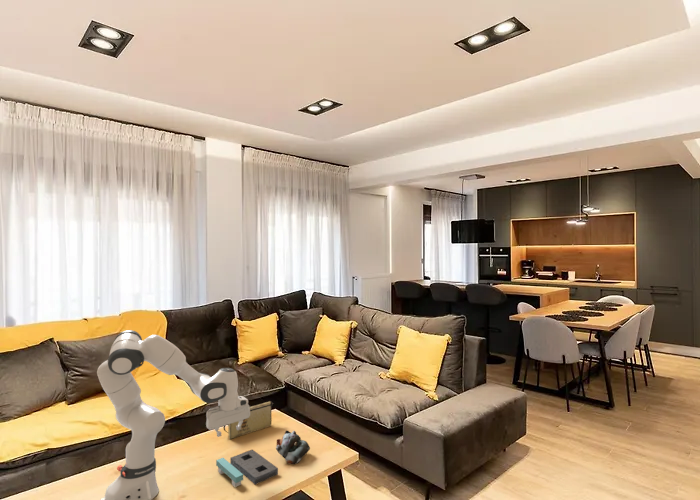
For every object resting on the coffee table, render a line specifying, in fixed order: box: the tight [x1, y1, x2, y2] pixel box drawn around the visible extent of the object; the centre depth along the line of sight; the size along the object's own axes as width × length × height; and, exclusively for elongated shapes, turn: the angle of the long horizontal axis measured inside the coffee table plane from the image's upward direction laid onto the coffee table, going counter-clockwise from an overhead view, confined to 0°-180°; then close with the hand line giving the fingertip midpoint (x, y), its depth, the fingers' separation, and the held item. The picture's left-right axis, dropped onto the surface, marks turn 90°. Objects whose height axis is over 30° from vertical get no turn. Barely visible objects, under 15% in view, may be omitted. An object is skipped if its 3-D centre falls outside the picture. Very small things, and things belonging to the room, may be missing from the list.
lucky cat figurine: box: [275, 430, 311, 465], centre depth 204 cm, size 15×12×14 cm
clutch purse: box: [222, 400, 274, 440], centre depth 234 cm, size 30×7×15 cm, turn 130°
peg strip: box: [215, 457, 244, 488], centre depth 186 cm, size 4×20×5 cm, turn 43°
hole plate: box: [229, 449, 279, 486], centre depth 194 cm, size 12×24×3 cm, turn 43°
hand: (229, 432), depth 187 cm, fingers open, 8 cm apart
